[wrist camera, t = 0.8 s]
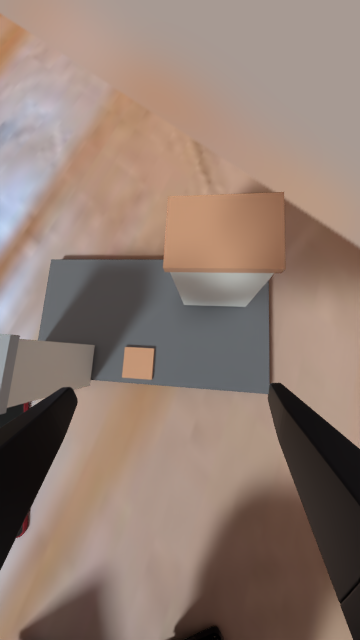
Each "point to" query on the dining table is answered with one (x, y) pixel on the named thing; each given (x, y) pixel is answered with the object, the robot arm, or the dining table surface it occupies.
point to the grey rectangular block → (40, 368)
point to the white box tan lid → (224, 246)
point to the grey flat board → (155, 327)
